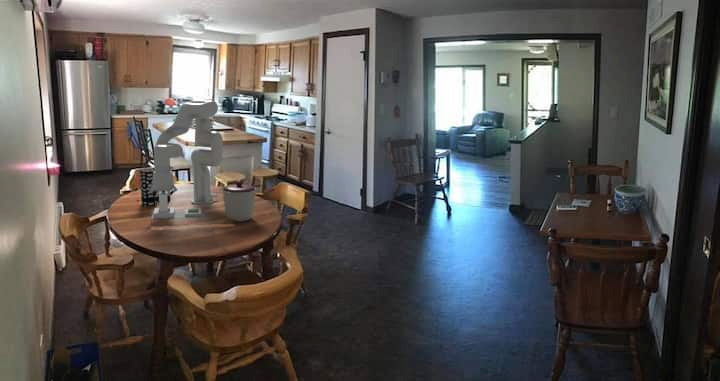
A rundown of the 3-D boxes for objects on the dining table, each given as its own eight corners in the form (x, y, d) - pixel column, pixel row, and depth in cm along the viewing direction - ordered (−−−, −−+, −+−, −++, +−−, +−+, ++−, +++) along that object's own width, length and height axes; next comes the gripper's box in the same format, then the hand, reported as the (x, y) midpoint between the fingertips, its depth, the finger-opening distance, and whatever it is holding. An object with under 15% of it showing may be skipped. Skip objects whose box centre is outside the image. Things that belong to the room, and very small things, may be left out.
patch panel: (203, 212, 292) (203, 205, 291) (204, 219, 279) (204, 212, 278) (153, 214, 284) (153, 207, 284) (151, 221, 271) (151, 214, 270)
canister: (226, 225, 271) (225, 185, 266) (218, 216, 286) (217, 178, 282) (261, 222, 279) (261, 182, 274) (251, 213, 294) (251, 176, 290)
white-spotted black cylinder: (151, 207, 299) (150, 172, 294) (138, 205, 300) (136, 171, 296) (160, 203, 307) (158, 169, 302) (147, 202, 308) (145, 168, 304)
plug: (168, 208, 282) (167, 189, 280) (167, 211, 276) (167, 192, 274) (160, 208, 281) (159, 190, 278) (159, 211, 275) (158, 192, 273)
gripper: (179, 167, 280) (180, 201, 284) (145, 167, 275) (147, 202, 279) (179, 170, 273) (180, 204, 277) (144, 170, 268) (145, 205, 272)
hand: (163, 203), depth 278 cm, fingers closed on plug, 4 cm apart
